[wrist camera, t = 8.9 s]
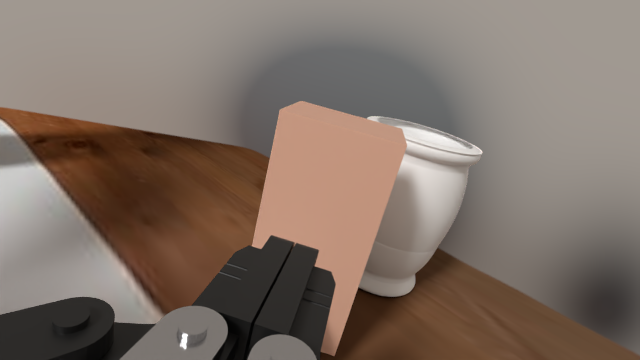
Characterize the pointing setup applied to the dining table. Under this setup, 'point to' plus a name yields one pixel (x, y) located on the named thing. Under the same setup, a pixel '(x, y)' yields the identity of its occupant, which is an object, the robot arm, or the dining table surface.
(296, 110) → the salmon pink rectangular block
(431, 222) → the jar
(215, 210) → the dining table surface
